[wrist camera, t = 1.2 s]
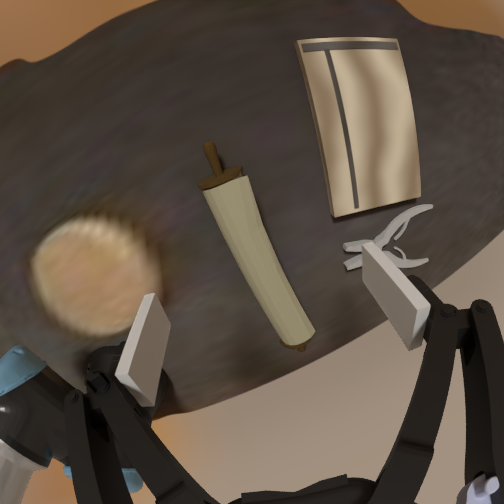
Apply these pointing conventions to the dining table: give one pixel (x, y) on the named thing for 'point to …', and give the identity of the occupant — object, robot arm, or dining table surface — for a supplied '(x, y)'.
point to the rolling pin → (254, 250)
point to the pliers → (384, 239)
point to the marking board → (361, 121)
